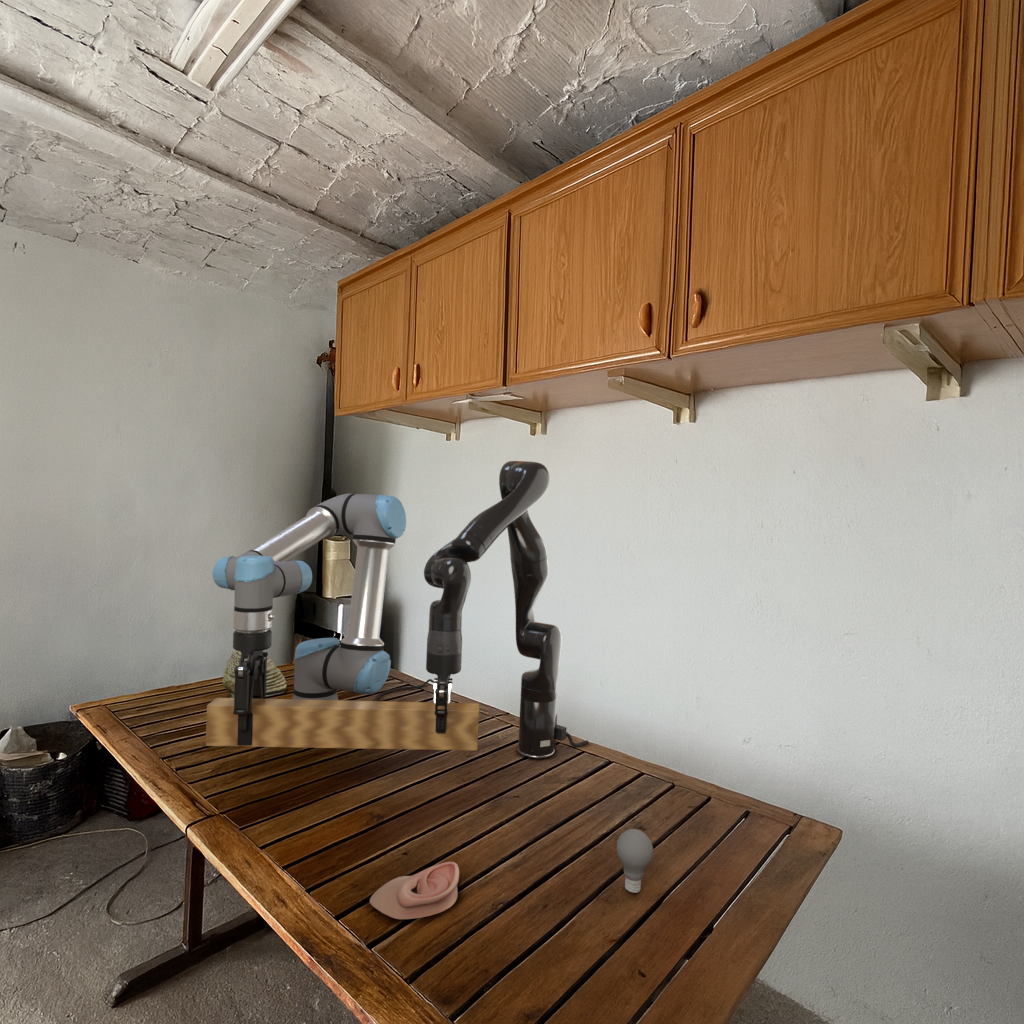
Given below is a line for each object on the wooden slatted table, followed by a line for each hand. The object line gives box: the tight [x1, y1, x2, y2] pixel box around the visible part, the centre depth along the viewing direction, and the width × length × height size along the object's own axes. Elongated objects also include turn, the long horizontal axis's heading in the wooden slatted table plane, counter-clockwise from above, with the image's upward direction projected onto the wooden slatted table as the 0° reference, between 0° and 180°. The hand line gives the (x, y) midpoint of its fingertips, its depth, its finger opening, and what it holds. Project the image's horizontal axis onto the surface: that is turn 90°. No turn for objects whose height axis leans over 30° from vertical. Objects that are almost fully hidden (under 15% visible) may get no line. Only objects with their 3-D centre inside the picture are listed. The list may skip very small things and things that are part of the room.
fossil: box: [222, 649, 288, 698], centre depth 198 cm, size 9×18×15 cm, turn 132°
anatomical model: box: [369, 861, 460, 920], centre depth 101 cm, size 13×4×12 cm
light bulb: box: [615, 828, 654, 894], centre depth 106 cm, size 6×6×10 cm
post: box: [205, 697, 480, 752], centre depth 135 cm, size 56×5×8 cm, turn 94°
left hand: (249, 738), depth 134 cm, fingers closed on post, 5 cm apart
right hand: (441, 727), depth 136 cm, fingers closed on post, 5 cm apart
